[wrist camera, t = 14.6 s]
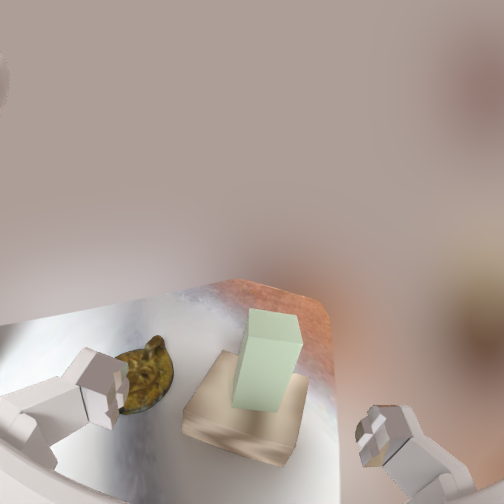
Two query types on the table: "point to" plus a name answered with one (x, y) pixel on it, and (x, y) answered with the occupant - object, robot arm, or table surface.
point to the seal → (147, 375)
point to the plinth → (244, 416)
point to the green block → (266, 360)
